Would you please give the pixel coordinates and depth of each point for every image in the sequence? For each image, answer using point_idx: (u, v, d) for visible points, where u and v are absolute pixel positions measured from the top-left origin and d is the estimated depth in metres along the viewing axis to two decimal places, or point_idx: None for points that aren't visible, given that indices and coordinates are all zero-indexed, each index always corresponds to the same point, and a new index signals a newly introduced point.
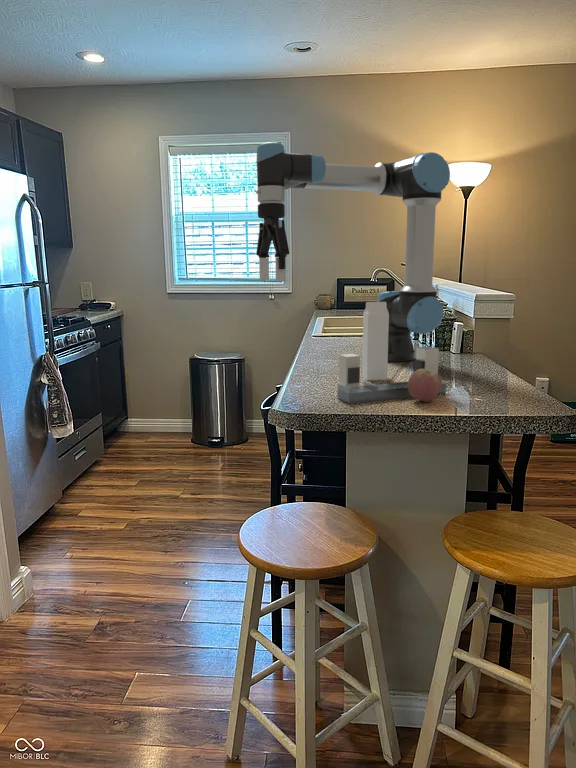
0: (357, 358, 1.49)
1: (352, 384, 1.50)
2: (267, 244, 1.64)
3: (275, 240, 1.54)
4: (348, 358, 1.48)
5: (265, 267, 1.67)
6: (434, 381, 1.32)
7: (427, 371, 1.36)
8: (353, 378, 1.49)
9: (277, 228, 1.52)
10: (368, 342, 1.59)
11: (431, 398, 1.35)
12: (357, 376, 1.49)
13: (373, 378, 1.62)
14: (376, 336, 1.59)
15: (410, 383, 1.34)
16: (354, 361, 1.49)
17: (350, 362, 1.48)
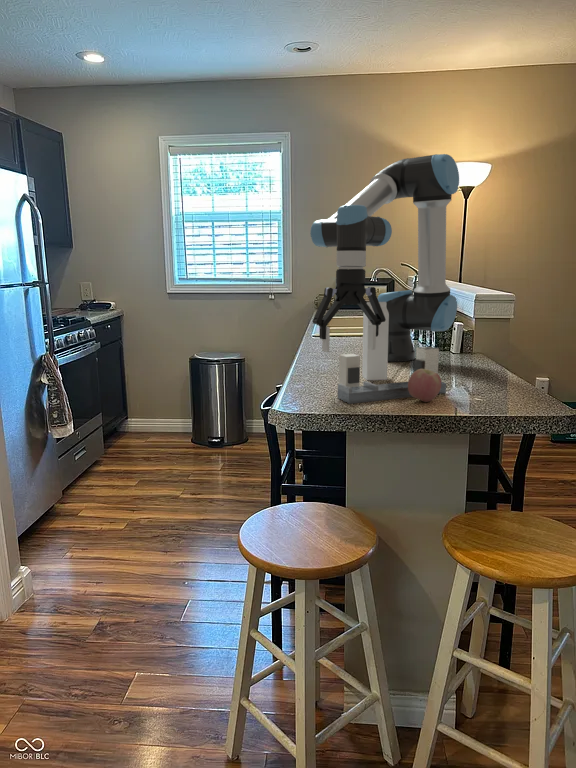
0: (357, 358, 1.49)
1: (352, 384, 1.50)
2: (365, 310, 1.49)
3: (330, 308, 1.46)
4: (348, 358, 1.48)
5: (371, 335, 1.51)
6: (434, 381, 1.32)
7: (427, 371, 1.36)
8: (353, 378, 1.49)
9: (324, 296, 1.45)
10: None
11: (431, 398, 1.35)
12: (357, 376, 1.49)
13: (373, 378, 1.62)
14: None
15: (410, 383, 1.34)
16: (354, 361, 1.49)
17: (350, 362, 1.48)
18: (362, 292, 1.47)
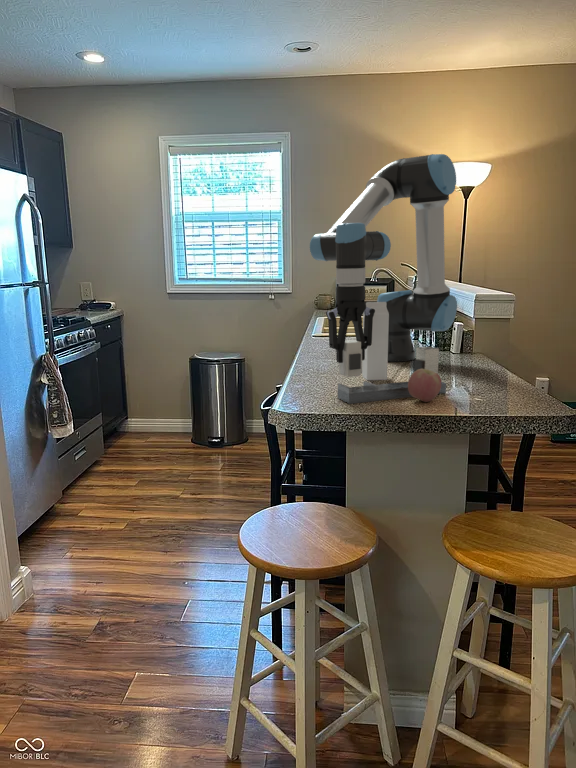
0: (358, 344, 1.48)
1: (353, 370, 1.50)
2: (357, 330, 1.49)
3: (339, 330, 1.49)
4: (349, 344, 1.47)
5: None
6: (434, 381, 1.32)
7: (427, 371, 1.36)
8: (354, 364, 1.48)
9: (328, 320, 1.47)
10: None
11: (431, 398, 1.35)
12: (358, 362, 1.49)
13: (373, 378, 1.62)
14: (376, 336, 1.59)
15: (410, 383, 1.34)
16: (355, 347, 1.48)
17: (351, 348, 1.48)
18: (362, 308, 1.48)
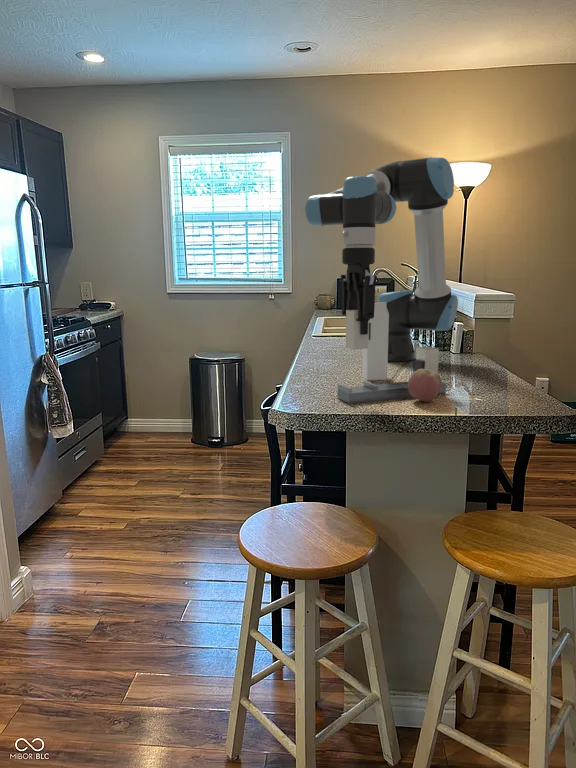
0: None
1: None
2: (355, 298, 1.36)
3: (360, 298, 1.31)
4: None
5: None
6: (434, 381, 1.32)
7: (427, 371, 1.36)
8: None
9: (367, 286, 1.28)
10: None
11: (431, 398, 1.35)
12: None
13: (373, 378, 1.62)
14: (376, 336, 1.59)
15: (410, 383, 1.34)
16: None
17: None
18: None
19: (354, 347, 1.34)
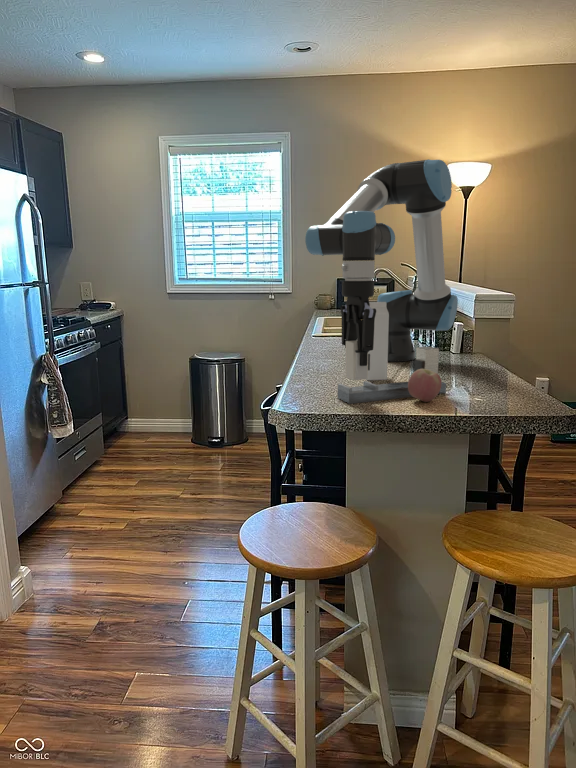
0: None
1: None
2: (354, 329, 1.38)
3: (360, 330, 1.33)
4: None
5: None
6: (434, 381, 1.32)
7: (427, 371, 1.36)
8: None
9: (366, 319, 1.29)
10: None
11: (431, 398, 1.35)
12: None
13: (373, 378, 1.62)
14: (376, 336, 1.59)
15: (410, 383, 1.34)
16: None
17: None
18: None
19: (353, 378, 1.36)
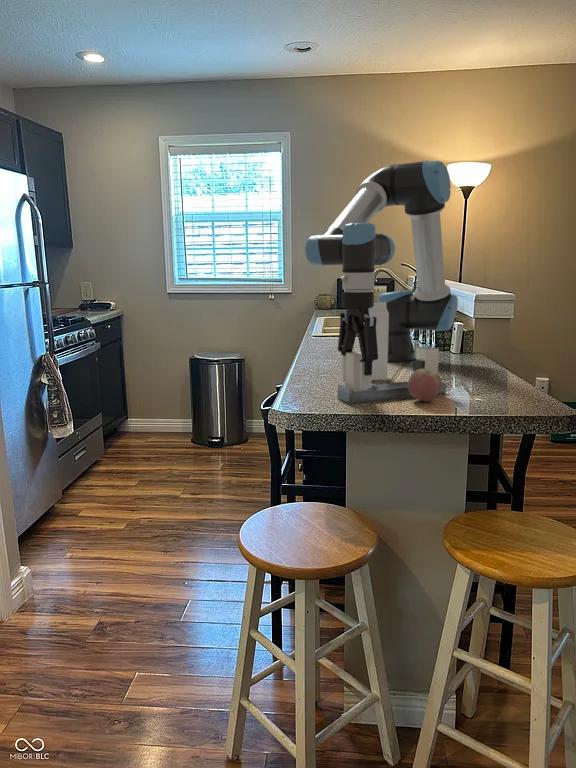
0: None
1: None
2: (352, 338, 1.39)
3: (362, 340, 1.32)
4: None
5: None
6: (434, 381, 1.32)
7: (427, 371, 1.36)
8: None
9: (367, 328, 1.29)
10: None
11: (431, 398, 1.35)
12: None
13: (373, 378, 1.62)
14: None
15: (410, 383, 1.34)
16: None
17: None
18: None
19: (353, 390, 1.37)
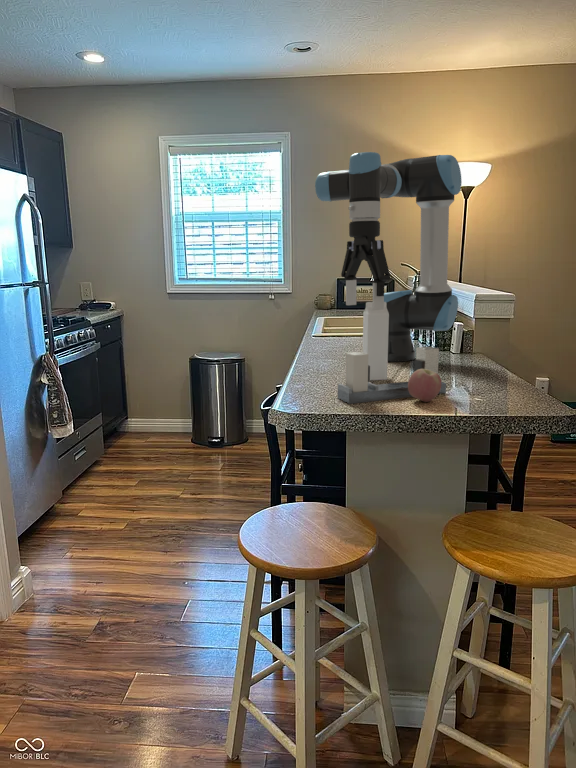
0: None
1: None
2: (356, 265, 1.46)
3: (372, 263, 1.36)
4: None
5: (352, 290, 1.49)
6: (434, 381, 1.32)
7: (427, 371, 1.36)
8: None
9: (376, 250, 1.34)
10: (368, 342, 1.59)
11: (431, 398, 1.35)
12: None
13: (373, 378, 1.62)
14: (376, 336, 1.59)
15: (410, 383, 1.34)
16: None
17: None
18: None
19: (353, 390, 1.37)
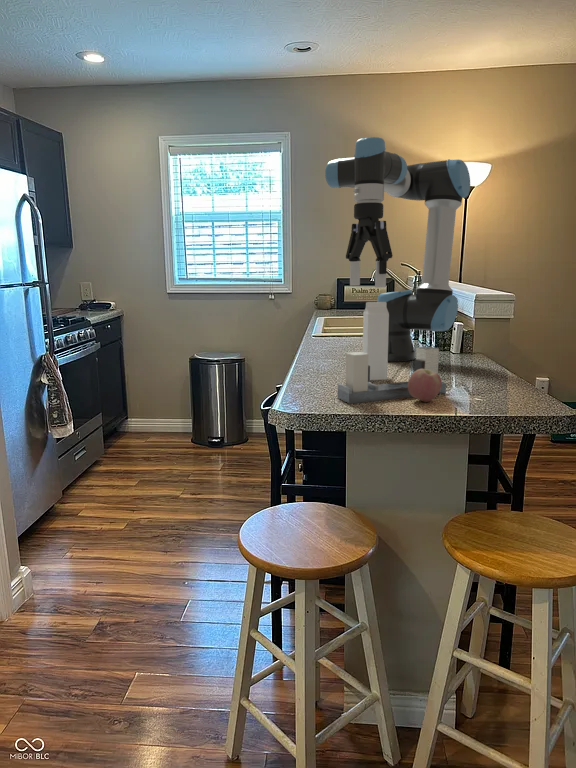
0: None
1: None
2: (360, 247, 1.52)
3: (375, 243, 1.43)
4: None
5: (356, 271, 1.55)
6: (434, 381, 1.32)
7: (427, 371, 1.36)
8: None
9: (379, 230, 1.41)
10: (368, 342, 1.59)
11: (431, 398, 1.35)
12: None
13: (373, 378, 1.62)
14: (376, 336, 1.59)
15: (410, 383, 1.34)
16: None
17: None
18: None
19: (353, 390, 1.37)
